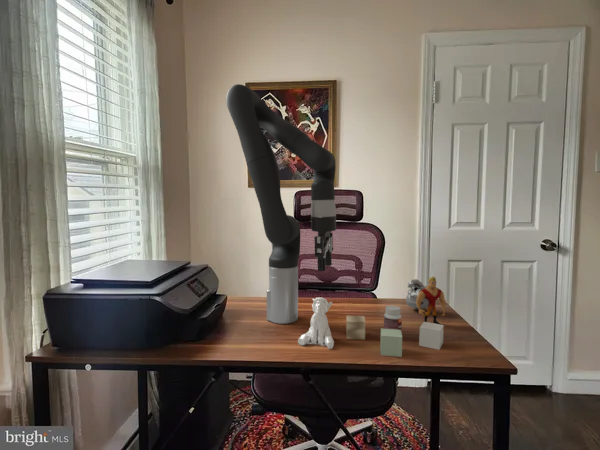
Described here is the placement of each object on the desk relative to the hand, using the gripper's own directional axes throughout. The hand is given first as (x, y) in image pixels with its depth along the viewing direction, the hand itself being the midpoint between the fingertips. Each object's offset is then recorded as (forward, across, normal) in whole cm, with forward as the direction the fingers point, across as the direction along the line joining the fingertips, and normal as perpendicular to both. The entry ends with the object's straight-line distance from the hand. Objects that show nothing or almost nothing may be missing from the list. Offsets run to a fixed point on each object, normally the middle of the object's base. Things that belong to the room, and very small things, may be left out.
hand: (325, 268), depth 108 cm
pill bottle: (+18, +5, +20) cm, 27 cm away
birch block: (+18, +7, +10) cm, 22 cm away
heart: (+18, -21, +28) cm, 39 cm away
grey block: (+18, +7, +30) cm, 36 cm away
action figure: (+19, -9, +31) cm, 37 cm away
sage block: (+18, +15, +20) cm, 31 cm away
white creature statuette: (+18, +14, +1) cm, 23 cm away
